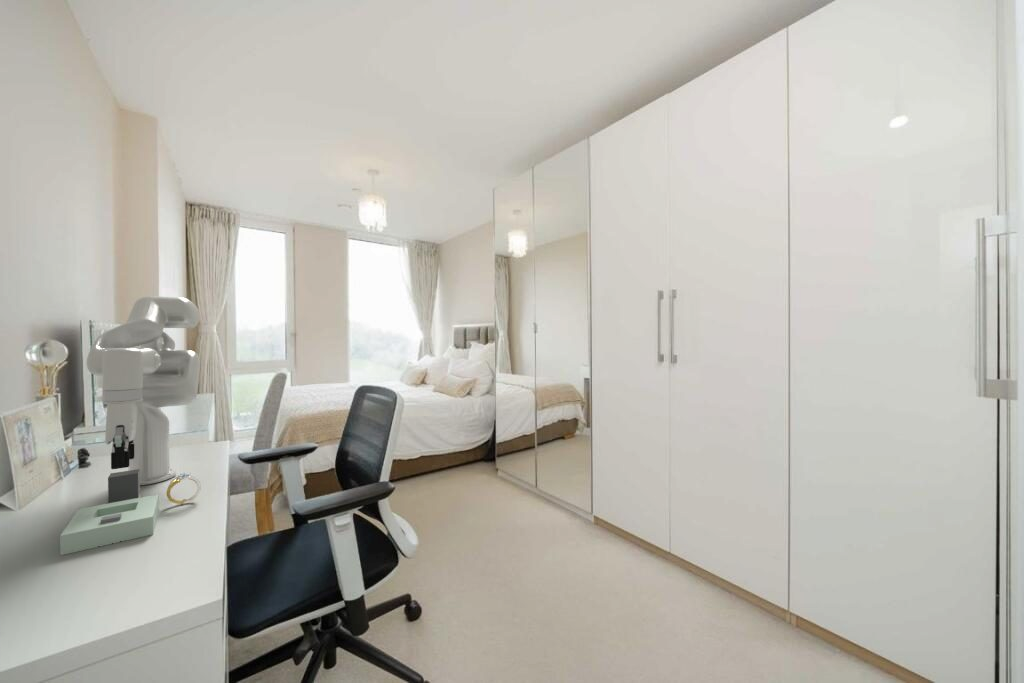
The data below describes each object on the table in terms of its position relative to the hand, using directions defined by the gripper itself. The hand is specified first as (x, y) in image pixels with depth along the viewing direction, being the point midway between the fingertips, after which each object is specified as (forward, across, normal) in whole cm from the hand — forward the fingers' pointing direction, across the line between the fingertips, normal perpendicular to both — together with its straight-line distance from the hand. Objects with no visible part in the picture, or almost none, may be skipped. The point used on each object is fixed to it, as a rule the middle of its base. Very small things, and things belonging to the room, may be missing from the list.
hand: (123, 463), depth 103 cm
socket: (+12, +14, 0) cm, 18 cm away
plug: (+12, -1, 0) cm, 12 cm away
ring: (+12, +5, +12) cm, 18 cm away
